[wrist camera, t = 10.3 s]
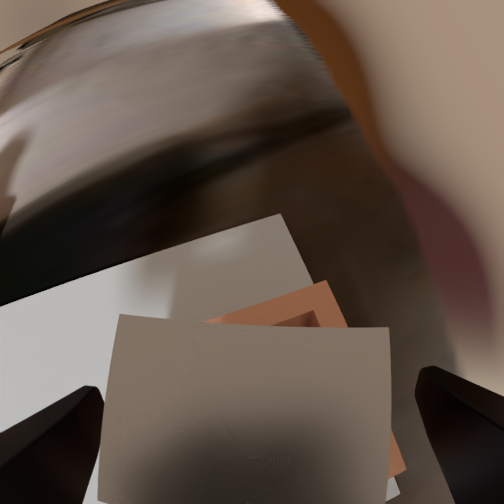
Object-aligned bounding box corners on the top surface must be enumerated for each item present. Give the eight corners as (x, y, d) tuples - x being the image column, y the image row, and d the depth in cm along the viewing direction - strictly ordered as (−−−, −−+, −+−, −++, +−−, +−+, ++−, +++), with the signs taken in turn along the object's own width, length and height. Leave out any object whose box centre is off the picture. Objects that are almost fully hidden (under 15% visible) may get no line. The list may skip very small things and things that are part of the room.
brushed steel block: (306, 463, 13) (416, 578, 2) (212, 458, 13) (58, 545, 2) (310, 377, 15) (421, 252, 4) (219, 373, 15) (99, 242, 4)
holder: (372, 459, 13) (406, 469, 9) (209, 514, 12) (189, 543, 8) (312, 315, 17) (326, 279, 13) (160, 364, 16) (126, 344, 12)
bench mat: (397, 492, 12) (400, 493, 12) (42, 554, 9) (39, 556, 9) (280, 217, 21) (280, 213, 20) (-6, 312, 18) (-9, 310, 18)
